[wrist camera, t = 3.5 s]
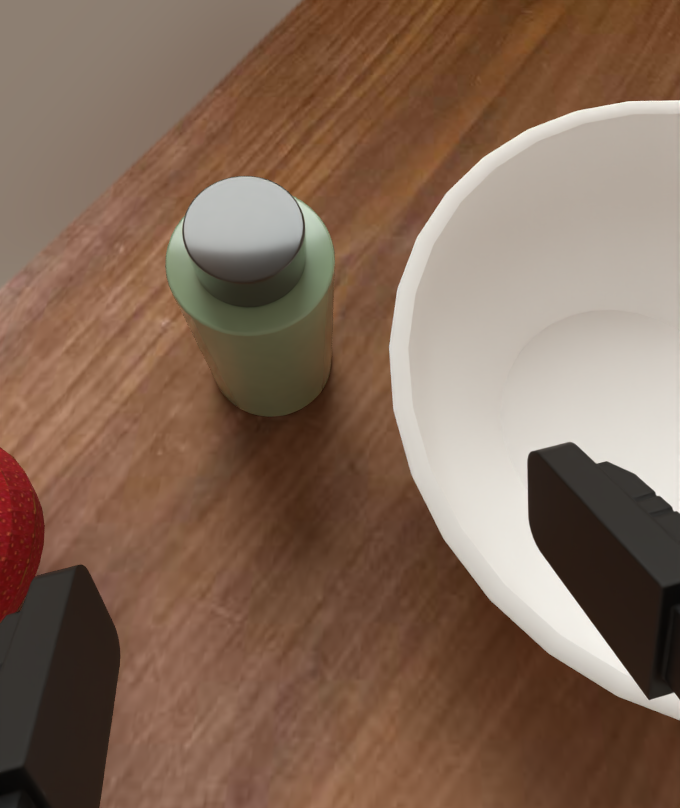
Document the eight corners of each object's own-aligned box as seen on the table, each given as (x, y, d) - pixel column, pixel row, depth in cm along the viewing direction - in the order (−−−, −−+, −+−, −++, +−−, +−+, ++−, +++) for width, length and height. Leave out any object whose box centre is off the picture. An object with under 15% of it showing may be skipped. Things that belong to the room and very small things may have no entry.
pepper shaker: (196, 399, 25) (122, 283, 16) (234, 294, 26) (187, 132, 17) (312, 431, 24) (306, 331, 15) (345, 323, 26) (356, 174, 17)
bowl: (480, 153, 28) (527, 20, 22) (906, 327, 26) (1098, 238, 20) (285, 544, 23) (269, 522, 16) (801, 803, 21) (1019, 896, 14)
